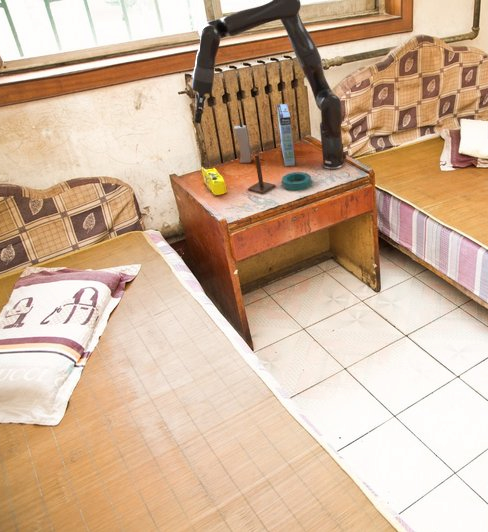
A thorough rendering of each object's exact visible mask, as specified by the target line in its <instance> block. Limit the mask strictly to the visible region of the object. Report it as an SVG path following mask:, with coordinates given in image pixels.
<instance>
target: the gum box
mask: <svg viewBox="0 0 488 532" xmlns="http://www.w3.org/2000/svg"><path fill="white" fill-rule="evenodd" d="M276 109H277V111H276V112H277V119H278V126H279V127H278V128H279V129H278V130H279V136H280V147H281V151H282V156H283V162H284V167H293V166H296V160H295V151H294V141H293V140H294V139H293V132H292V131H293V130H292V121H291V115H290V110H289V107H288V104H287V103H281V104H276Z"/></svg>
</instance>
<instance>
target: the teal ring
mask: <svg viewBox="0 0 488 532" xmlns="http://www.w3.org/2000/svg"><path fill="white" fill-rule="evenodd" d="M281 185H282V187H283V189H284V190H288V191H292V192H293V191H302V190H305V189H308V188H309V187H311V185H312V176H311V175H310V174H309V173H307V172H303V171H296V172H294V171H293V172H290V173H286V174H284V175H283V176H282V178H281Z"/></svg>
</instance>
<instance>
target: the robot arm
mask: <svg viewBox="0 0 488 532" xmlns="http://www.w3.org/2000/svg"><path fill="white" fill-rule="evenodd" d="M301 5H302V4H301V0H271V1H269V2H268V3H265V4H262V5H258V6H256V7H250V8H247V9H242V10H239V11H236V12H234V13H231V14H229V15H226V16H224V17H220V18H217V19H212V20H210V21H207V22H204V23H202V24H201V25H200V27H199V28H198V36H199V39H200V41H199V48H198V50H197V53H196V57H195V65H194V69H193V74H192V83H191V89H192V90H193V91H195V92H197V93H196V94H195V96H194V108H195V113H194V123H195V124H201V123H202V118H203V117H202V116H203V114H204V110H205V106H206V102H207V96H206V94H207V95H210V94H212V93H213V87H214V79H215V69H216V62H217V54H218V52H219V49H220V44H221V39H224V38H226V37H234V36H238V35H240V34H242V33H244V32H248V31H249V30H252V29H255V28H257V27H259V26H262V25H265V24H268V23H272V22H275V21H281V24H282V25H283V27H284V29H285V31H286V34H287V37H288V40H289V42H290V46H291V48H292V50H293V53H294V56H295V57H296V60H297V62H298V64H299V67H300V69H301V71H302V72H303V75H304V76H305V78H306V80H307V82H308V84H309V86H310V89H311V92H312V95H313V97H314V101H315V105H316V106H317V108H318V110H319V111H320V116H321V122H320V123H319V131H320V142H321V155H322V167H323V168H325V169H326V170H338V169H341V168H343V167H344V165H345V160H346V159H347V152H346V151H345V152H344V143H343V137H342V136H343V135H342V123H343V107H342V102H341V98H340V97H339V96H338V95H337V94H335V93H334V92H333V90H332V88H331V86H330V85H329V83H328V81H327V79H326V76H325V75H326V74H325V70H324V65H323V60H322V57H321V53H320V51H319V49H318V46H317V45H316V43H315V41H314V39H313V38H312V36H311V34H310V33H309V31H308V30H307V28H306V26H305V24H304V23H303V21H302V18H301V16H300V11H301V7H302V6H301Z"/></svg>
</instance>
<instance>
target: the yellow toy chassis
mask: <svg viewBox="0 0 488 532" xmlns="http://www.w3.org/2000/svg"><path fill="white" fill-rule="evenodd" d="M201 174H202V179H203V183H204V184H205V185H206V189H208V192H210V191H211V192H212V194H213V195H214V196H220V195H223V194H226V193H227V192H228V191H227V186H226V182H225V179H224V177H223V176H222V175H221V174H220V173H219V171H218V170H217V169H216V167H212V168H208V169H206V168H205V167H203V166H202V167H201Z"/></svg>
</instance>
